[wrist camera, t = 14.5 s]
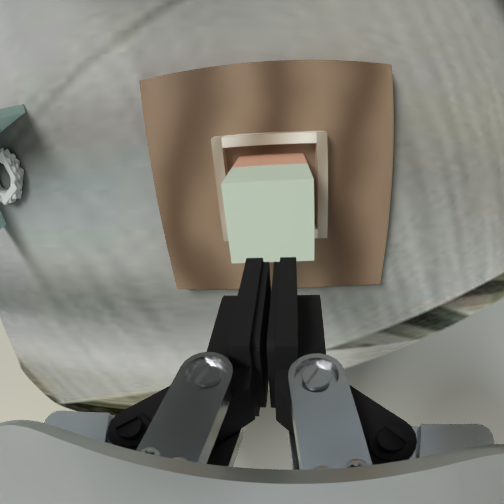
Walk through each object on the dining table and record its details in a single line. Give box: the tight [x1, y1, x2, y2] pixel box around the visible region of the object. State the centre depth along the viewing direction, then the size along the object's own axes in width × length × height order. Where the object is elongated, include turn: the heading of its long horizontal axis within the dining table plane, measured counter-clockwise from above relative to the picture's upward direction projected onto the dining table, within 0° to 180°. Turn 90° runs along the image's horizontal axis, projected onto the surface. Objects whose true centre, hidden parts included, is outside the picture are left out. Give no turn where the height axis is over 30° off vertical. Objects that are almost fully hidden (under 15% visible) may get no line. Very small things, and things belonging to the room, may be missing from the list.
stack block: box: [221, 153, 314, 263], centre depth 21 cm, size 5×5×8 cm
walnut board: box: [140, 60, 394, 289], centre depth 25 cm, size 20×20×3 cm
